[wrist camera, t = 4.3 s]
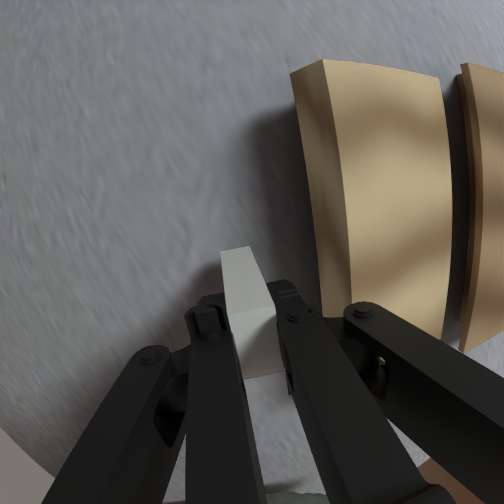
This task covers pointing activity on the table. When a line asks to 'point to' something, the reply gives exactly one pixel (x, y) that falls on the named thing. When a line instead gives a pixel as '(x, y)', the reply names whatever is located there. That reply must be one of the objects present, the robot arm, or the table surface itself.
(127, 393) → the robot arm
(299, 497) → the rock
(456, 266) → the table surface
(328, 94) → the plank
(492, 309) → the board
